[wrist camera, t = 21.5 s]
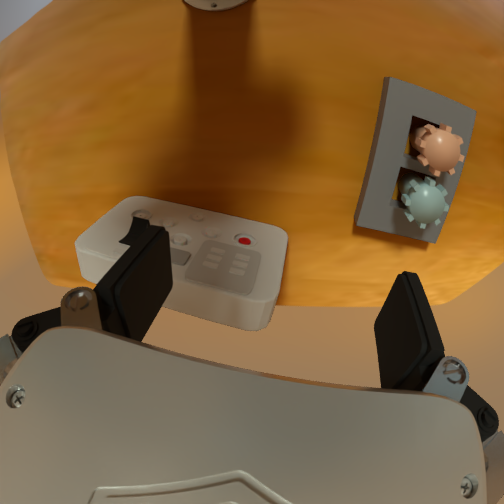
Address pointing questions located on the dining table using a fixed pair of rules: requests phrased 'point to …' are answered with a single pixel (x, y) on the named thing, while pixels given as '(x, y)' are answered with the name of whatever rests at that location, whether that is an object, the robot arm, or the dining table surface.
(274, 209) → the dining table surface
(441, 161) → the jaw gear
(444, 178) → the housing
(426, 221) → the jaw gear
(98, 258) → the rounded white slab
